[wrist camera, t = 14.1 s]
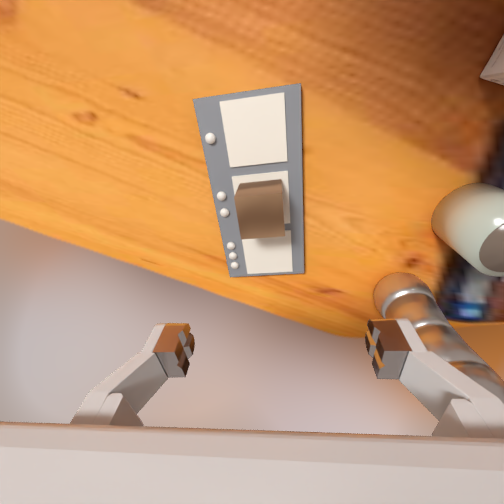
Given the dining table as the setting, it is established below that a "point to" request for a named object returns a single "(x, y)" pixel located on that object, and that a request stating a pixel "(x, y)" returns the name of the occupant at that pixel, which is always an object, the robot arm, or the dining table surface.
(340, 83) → the dining table surface
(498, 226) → the sage mug
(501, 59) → the skincare box
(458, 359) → the plastic bottle
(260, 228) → the marker cube
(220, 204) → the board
